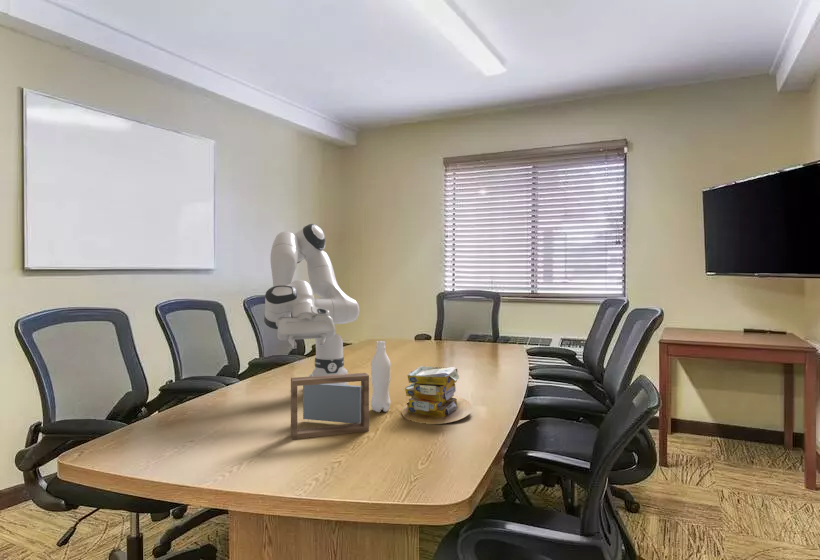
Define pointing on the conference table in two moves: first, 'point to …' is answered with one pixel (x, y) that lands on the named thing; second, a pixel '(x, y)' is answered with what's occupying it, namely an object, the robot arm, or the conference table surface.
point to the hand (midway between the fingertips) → (308, 346)
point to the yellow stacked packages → (434, 396)
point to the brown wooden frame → (336, 428)
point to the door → (332, 403)
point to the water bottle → (380, 379)
